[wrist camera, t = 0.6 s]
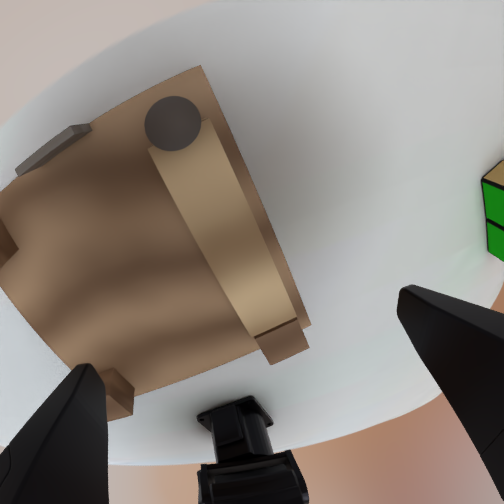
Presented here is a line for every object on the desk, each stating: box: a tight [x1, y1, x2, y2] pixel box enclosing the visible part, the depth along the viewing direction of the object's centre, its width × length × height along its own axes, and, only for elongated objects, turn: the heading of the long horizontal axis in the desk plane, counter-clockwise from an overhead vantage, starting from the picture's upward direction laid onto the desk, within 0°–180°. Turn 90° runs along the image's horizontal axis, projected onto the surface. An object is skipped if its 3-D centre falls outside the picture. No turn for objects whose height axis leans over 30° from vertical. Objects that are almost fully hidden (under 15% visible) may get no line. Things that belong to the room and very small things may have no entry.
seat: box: [0, 65, 311, 422], centre depth 18 cm, size 20×20×4 cm
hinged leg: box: [144, 96, 297, 337], centre depth 16 cm, size 14×3×4 cm, turn 23°
